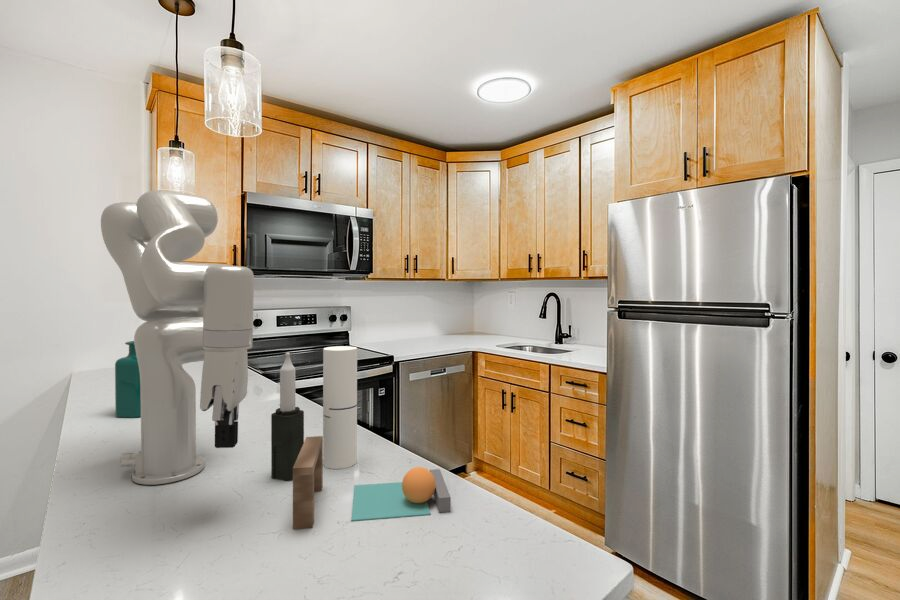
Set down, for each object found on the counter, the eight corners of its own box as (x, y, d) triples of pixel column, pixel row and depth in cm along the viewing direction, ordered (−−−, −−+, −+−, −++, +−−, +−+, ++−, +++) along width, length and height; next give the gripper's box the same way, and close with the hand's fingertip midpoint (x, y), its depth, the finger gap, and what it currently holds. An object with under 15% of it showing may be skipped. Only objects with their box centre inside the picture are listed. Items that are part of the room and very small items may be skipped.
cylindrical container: (348, 470, 93) (348, 351, 92) (317, 467, 95) (317, 349, 94) (361, 457, 100) (362, 346, 99) (332, 455, 101) (332, 345, 101)
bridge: (292, 529, 70) (292, 468, 70) (306, 487, 85) (306, 436, 85) (312, 527, 71) (312, 467, 71) (322, 486, 86) (322, 436, 85)
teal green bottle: (140, 418, 129) (140, 342, 128) (111, 417, 129) (111, 342, 128) (163, 409, 139) (162, 338, 138) (136, 408, 139) (135, 338, 138)
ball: (427, 515, 77) (396, 500, 76) (424, 500, 83) (395, 486, 82) (443, 483, 77) (413, 468, 77) (439, 470, 83) (410, 456, 82)
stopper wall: (438, 512, 76) (438, 498, 76) (429, 482, 88) (429, 469, 88) (450, 511, 76) (450, 497, 76) (439, 481, 88) (439, 469, 88)
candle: (306, 471, 92) (306, 351, 92) (289, 481, 87) (289, 354, 87) (286, 468, 94) (285, 350, 93) (268, 478, 89) (268, 353, 88)
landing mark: (351, 521, 73) (351, 519, 73) (354, 486, 86) (354, 485, 86) (430, 514, 75) (430, 513, 75) (421, 481, 88) (421, 480, 88)
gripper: (219, 332, 82) (217, 431, 83) (185, 345, 67) (184, 465, 68) (262, 333, 83) (260, 430, 84) (239, 346, 68) (236, 463, 69)
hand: (226, 445), depth 76 cm, fingers closed
